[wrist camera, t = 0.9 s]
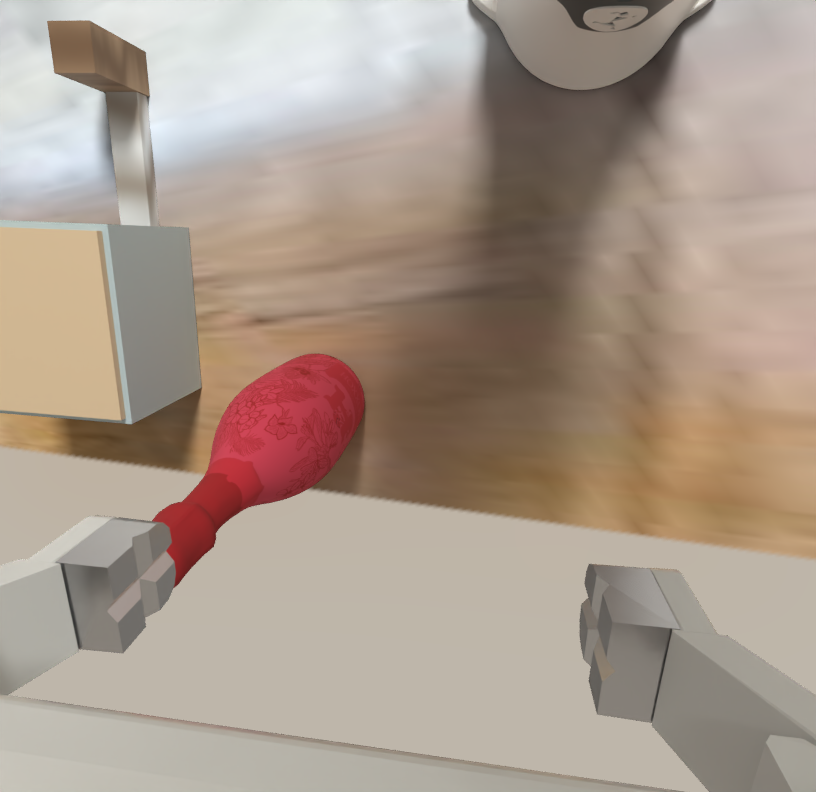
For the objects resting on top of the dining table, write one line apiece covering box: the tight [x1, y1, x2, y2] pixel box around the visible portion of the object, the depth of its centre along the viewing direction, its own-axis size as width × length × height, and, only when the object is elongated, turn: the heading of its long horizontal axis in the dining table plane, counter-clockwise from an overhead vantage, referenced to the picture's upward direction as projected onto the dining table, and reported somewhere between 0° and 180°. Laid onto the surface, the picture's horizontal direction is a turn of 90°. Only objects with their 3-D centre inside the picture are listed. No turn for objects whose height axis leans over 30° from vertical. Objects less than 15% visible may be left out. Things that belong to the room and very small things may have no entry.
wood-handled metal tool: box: [47, 21, 160, 227], centre depth 46 cm, size 18×4×7 cm, turn 178°
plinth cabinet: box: [0, 220, 202, 424], centre depth 48 cm, size 16×14×12 cm
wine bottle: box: [152, 354, 365, 588], centre depth 39 cm, size 10×10×30 cm
